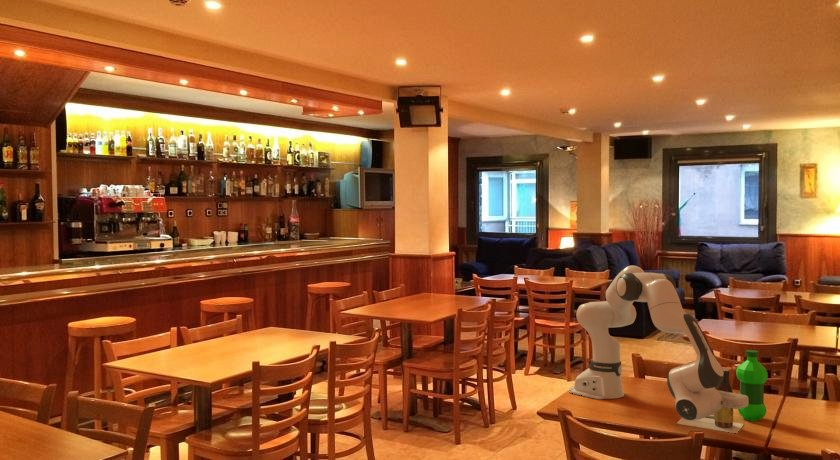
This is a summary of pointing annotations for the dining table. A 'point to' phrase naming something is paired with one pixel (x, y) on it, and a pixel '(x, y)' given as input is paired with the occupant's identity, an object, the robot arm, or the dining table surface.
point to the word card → (710, 416)
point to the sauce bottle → (724, 414)
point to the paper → (710, 425)
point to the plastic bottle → (752, 386)
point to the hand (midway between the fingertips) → (725, 392)
